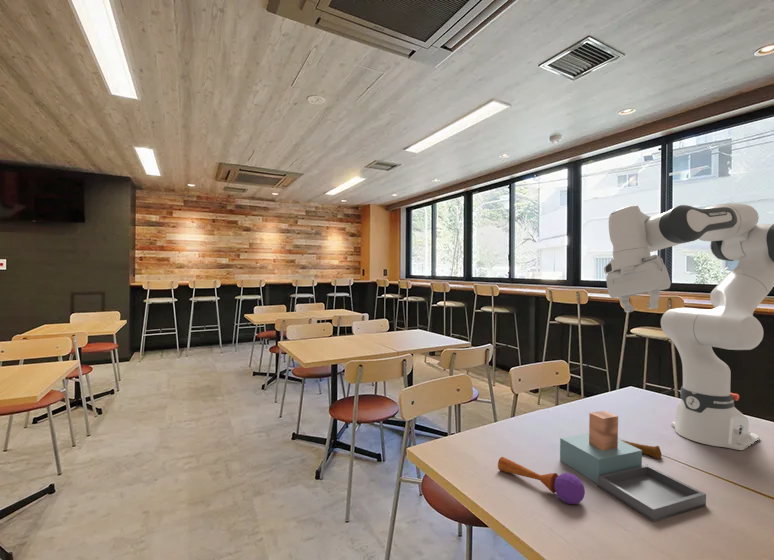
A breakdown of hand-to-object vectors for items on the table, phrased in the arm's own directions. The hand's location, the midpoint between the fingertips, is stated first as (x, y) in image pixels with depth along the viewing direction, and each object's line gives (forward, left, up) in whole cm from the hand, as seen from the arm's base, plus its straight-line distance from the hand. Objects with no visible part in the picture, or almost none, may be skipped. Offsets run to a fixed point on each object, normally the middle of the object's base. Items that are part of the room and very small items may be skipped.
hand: (640, 310), depth 104 cm
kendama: (+39, +5, -40) cm, 56 cm away
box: (+18, +16, -40) cm, 46 cm away
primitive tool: (+2, -4, -40) cm, 41 cm away
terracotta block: (+18, +4, -34) cm, 38 cm away
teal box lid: (+18, +3, -40) cm, 43 cm away
